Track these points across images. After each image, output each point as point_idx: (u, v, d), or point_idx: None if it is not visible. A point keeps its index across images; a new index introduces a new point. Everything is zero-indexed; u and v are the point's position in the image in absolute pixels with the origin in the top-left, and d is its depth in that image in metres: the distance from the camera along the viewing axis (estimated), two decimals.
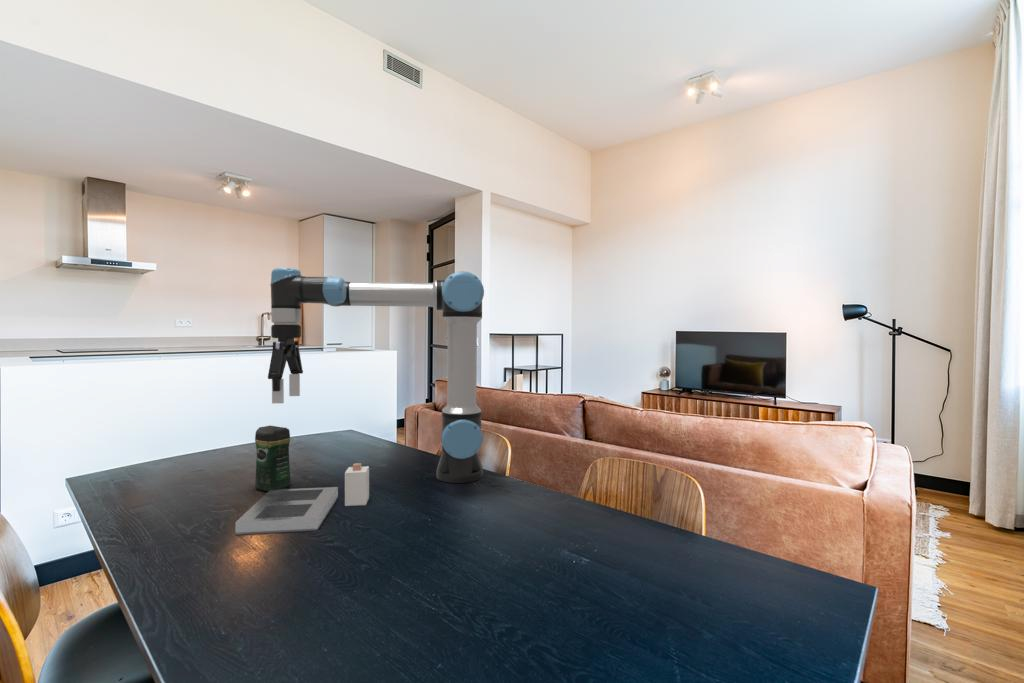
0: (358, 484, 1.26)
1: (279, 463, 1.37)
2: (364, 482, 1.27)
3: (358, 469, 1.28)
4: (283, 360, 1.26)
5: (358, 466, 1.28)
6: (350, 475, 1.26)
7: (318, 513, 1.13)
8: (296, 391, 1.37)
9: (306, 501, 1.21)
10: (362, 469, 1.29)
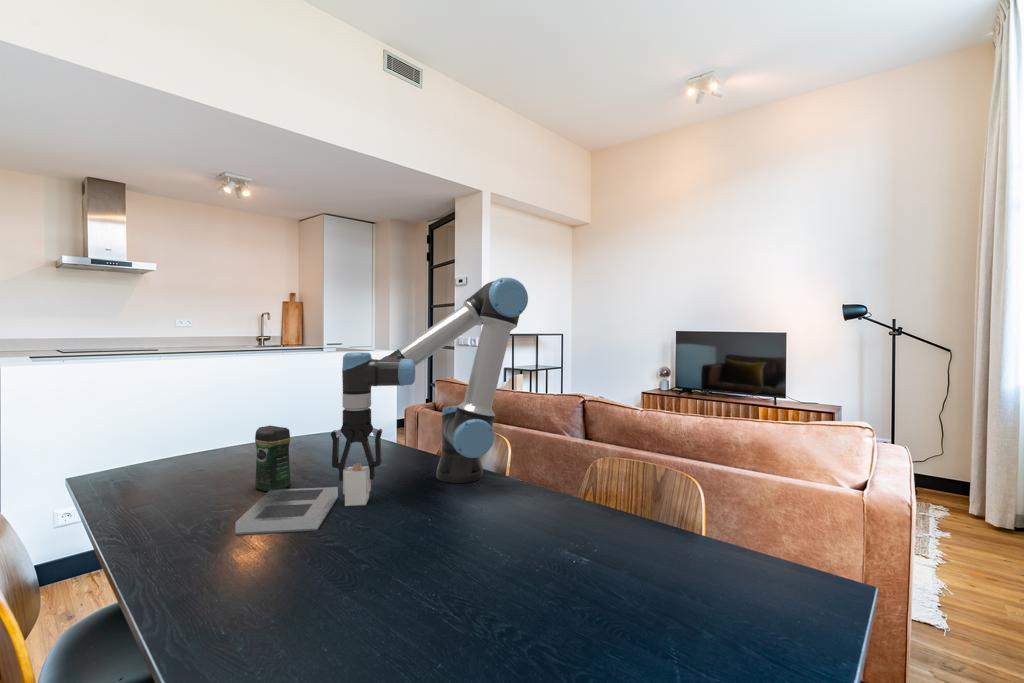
0: (358, 484, 1.26)
1: (279, 463, 1.37)
2: (364, 482, 1.27)
3: (358, 469, 1.28)
4: (344, 449, 1.27)
5: (358, 466, 1.28)
6: (350, 475, 1.26)
7: (318, 513, 1.13)
8: None
9: (306, 501, 1.21)
10: (362, 469, 1.29)
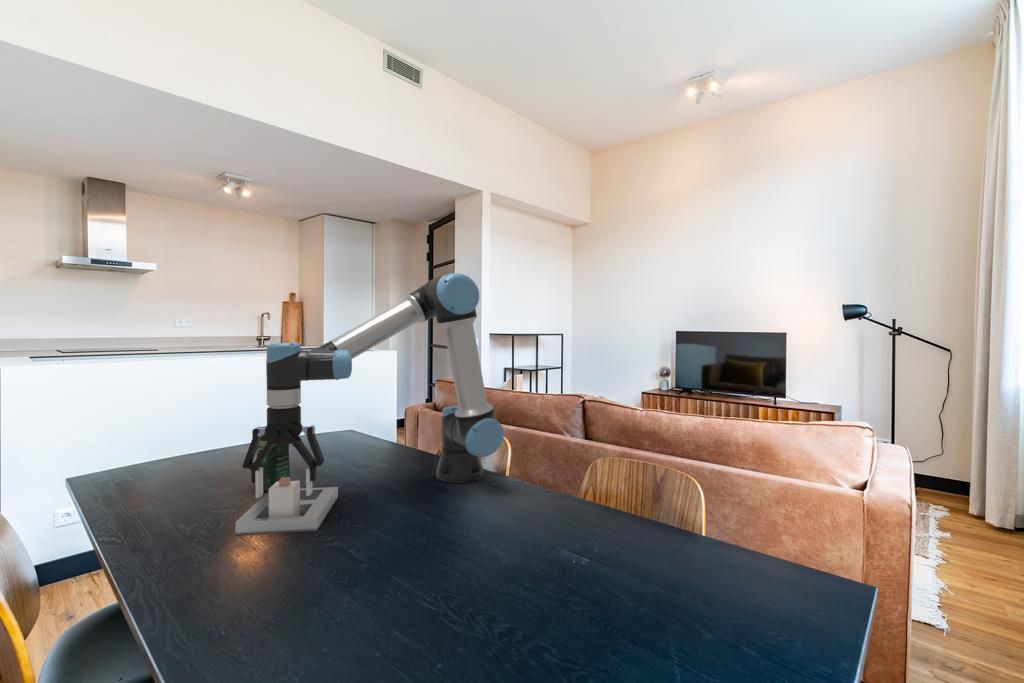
0: (284, 501, 1.12)
1: (279, 463, 1.37)
2: (291, 499, 1.12)
3: (285, 484, 1.13)
4: (263, 449, 1.12)
5: (285, 481, 1.13)
6: (274, 491, 1.11)
7: (318, 513, 1.13)
8: None
9: (306, 501, 1.21)
10: (291, 484, 1.14)
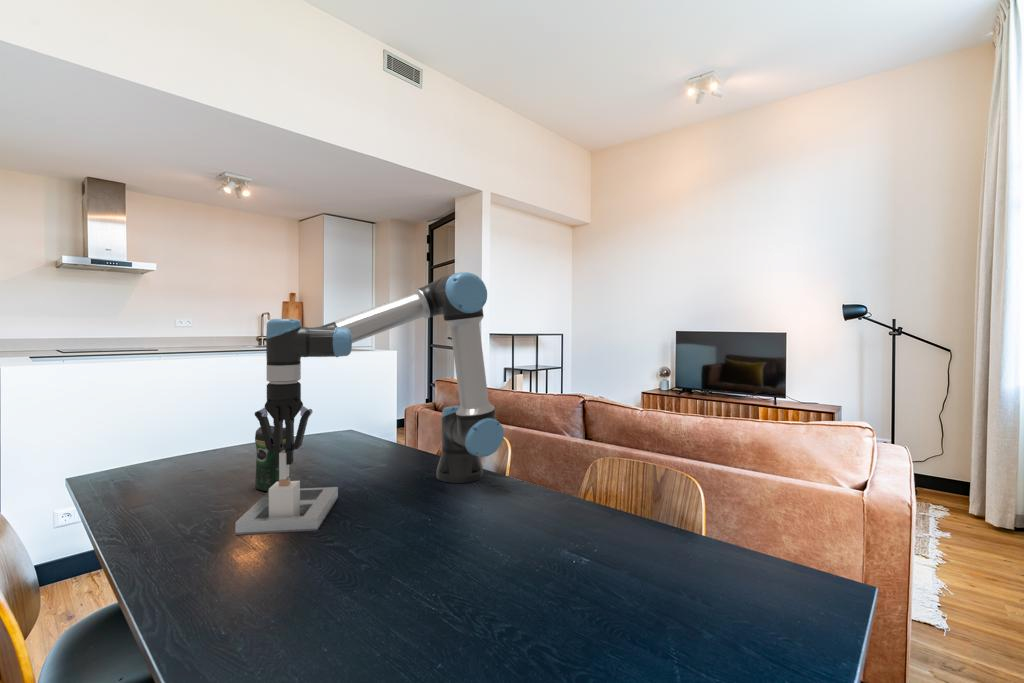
0: (284, 501, 1.12)
1: None
2: (291, 499, 1.12)
3: (285, 484, 1.13)
4: None
5: (285, 481, 1.13)
6: (274, 491, 1.11)
7: (318, 513, 1.13)
8: None
9: (306, 501, 1.21)
10: (291, 484, 1.14)
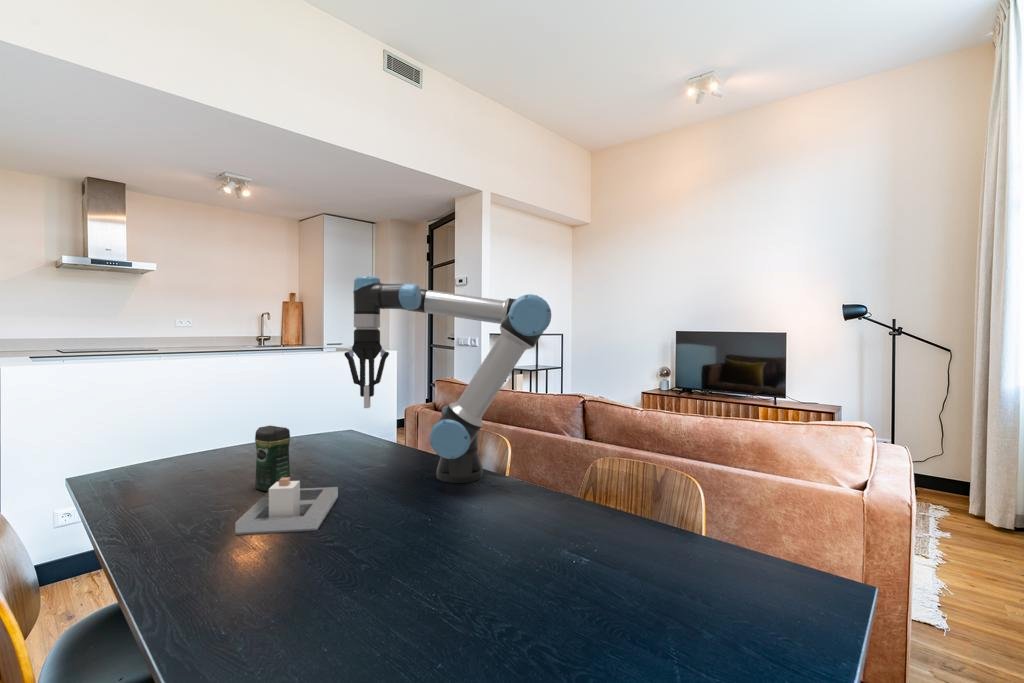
0: (284, 501, 1.12)
1: (279, 463, 1.37)
2: (291, 499, 1.12)
3: (285, 484, 1.13)
4: (360, 367, 1.38)
5: (285, 481, 1.13)
6: (274, 491, 1.11)
7: (318, 513, 1.13)
8: None
9: (306, 501, 1.21)
10: (291, 484, 1.14)
